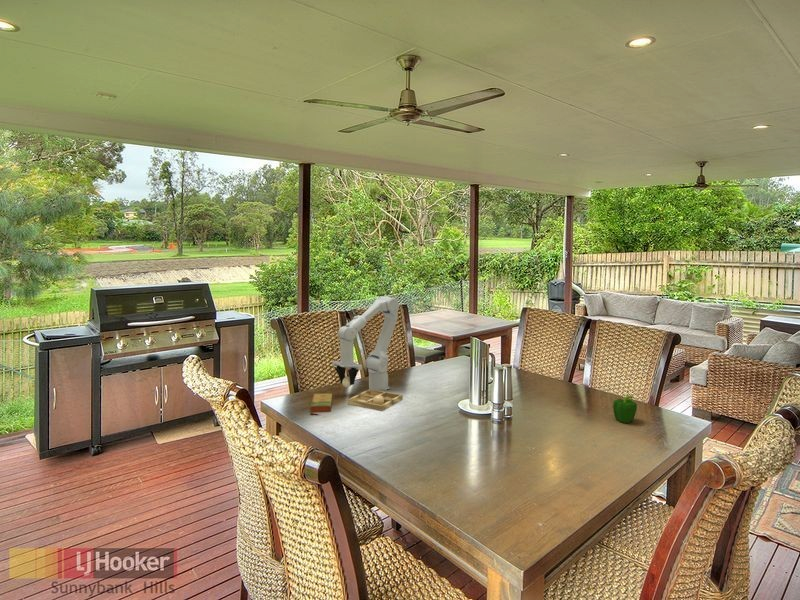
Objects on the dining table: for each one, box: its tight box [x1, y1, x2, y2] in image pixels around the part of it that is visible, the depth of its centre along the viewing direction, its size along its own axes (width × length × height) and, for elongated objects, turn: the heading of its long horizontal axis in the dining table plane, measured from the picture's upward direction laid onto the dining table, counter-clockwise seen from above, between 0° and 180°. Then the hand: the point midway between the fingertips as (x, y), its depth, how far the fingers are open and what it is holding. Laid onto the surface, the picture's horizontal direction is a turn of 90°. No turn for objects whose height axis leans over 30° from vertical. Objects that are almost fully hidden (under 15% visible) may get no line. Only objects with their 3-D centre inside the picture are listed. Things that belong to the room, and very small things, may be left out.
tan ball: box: [373, 395, 384, 405], centre depth 201 cm, size 5×5×5 cm
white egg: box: [341, 376, 352, 388], centre depth 216 cm, size 5×5×5 cm
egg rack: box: [347, 388, 404, 412], centre depth 207 cm, size 17×17×3 cm
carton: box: [309, 393, 333, 416], centre depth 202 cm, size 8×16×4 cm, turn 6°
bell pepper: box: [612, 395, 638, 424], centre depth 188 cm, size 8×8×10 cm
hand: (347, 383), depth 216 cm, fingers closed on white egg, 5 cm apart
